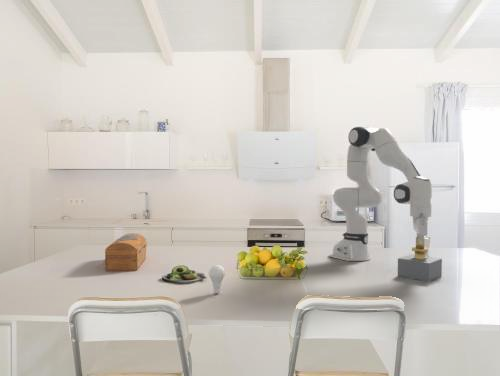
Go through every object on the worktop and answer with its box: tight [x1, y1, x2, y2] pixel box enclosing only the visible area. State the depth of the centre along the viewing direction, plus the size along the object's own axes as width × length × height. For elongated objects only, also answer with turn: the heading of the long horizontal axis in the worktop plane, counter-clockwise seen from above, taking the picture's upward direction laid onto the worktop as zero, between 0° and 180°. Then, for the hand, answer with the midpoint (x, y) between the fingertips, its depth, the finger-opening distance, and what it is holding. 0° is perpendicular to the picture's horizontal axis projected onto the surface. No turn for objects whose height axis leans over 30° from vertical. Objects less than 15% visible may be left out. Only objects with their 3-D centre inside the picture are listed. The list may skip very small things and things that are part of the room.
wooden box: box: [104, 232, 148, 272], centre depth 201 cm, size 30×16×14 cm, turn 6°
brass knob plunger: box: [411, 236, 428, 260], centre depth 179 cm, size 7×7×14 cm
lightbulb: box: [208, 264, 226, 294], centre depth 151 cm, size 6×6×11 cm
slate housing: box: [397, 253, 443, 282], centre depth 180 cm, size 14×14×8 cm
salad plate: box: [161, 265, 208, 285], centre depth 174 cm, size 19×18×5 cm
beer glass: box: [414, 236, 432, 257], centre depth 196 cm, size 7×7×15 cm
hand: (420, 243), depth 179 cm, fingers closed on brass knob plunger, 4 cm apart
